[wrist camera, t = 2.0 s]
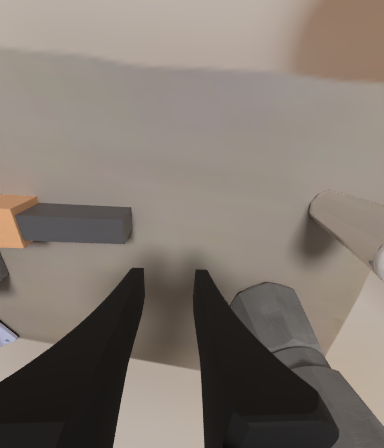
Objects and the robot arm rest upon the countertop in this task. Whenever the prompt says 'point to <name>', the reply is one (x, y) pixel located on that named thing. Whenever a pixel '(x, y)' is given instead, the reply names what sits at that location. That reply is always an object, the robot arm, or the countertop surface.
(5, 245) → the plug
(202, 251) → the countertop surface
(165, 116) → the countertop surface
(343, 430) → the coffeepot
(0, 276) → the grey bridge block
